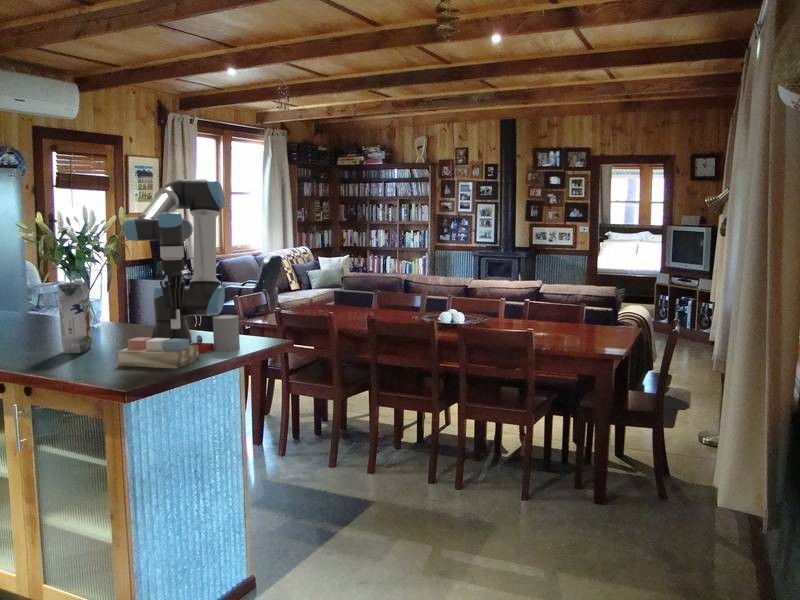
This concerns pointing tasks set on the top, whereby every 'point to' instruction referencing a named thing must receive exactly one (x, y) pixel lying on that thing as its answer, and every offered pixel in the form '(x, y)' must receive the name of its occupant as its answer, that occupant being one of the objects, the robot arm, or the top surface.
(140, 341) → the red key
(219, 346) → the grey cylinder
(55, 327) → the top surface
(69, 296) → the juice carton
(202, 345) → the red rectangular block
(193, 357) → the frame
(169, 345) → the blue key
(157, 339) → the white key
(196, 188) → the robot arm
